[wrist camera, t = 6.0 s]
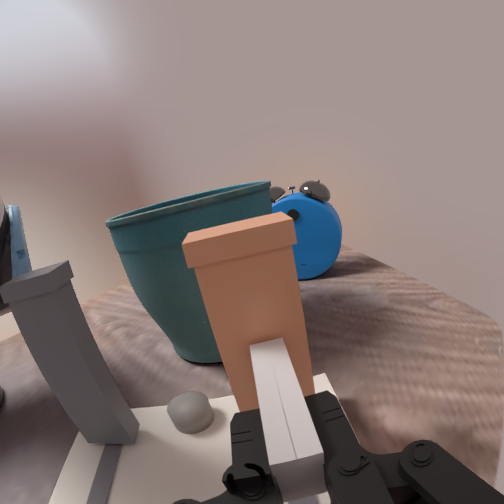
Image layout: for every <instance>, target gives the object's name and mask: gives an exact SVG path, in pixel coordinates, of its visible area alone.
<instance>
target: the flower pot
mask: <svg viewBox="0 0 504 504" xmlns="http://www.w3.org/2000/svg"><path fill="white" fill-rule="evenodd" d="M270 186H271V182H270V180H264V181H256V182H250V183H244V184H238V185H233V186H228V187H223V188H218V189H214V190H209V191H205V192H201V193H196V194H192V195H188V196H184V197H180V198H176V199H172V200H168V201H165V202H161V203H157V204H154V205H151V206H147V207H144V208H140V209H137V210H134V211H130V212H127V213H124V214H122V215H119V216H116V217H113V218H111V219H108V220H107V221H105V223H106V226H107V227H108V228H109V229H110V233H111V236H112V238H113V241H114V244H115V247H116V249H117V251H118V253H119V255H120V258H121V261H122V263H123V266H124V268H125V271H126V273H127V276H128V278H129V281H130V283H131V285H132V287H133V289H134V291H135V293H136V295H137V297H138V298H139V300H140V302H141V303H142V305H143V306H144V308H145V309H146V310H147V312H148V313H149V314H150V315H151V317H152V318H153V319H154V320H155V321H156V323H157V324H158V325H159V326H160V328H161V329H162V330H163V331H164V333H165V334H166V335H167V336H168V338H169V339H170V340H171V342H172V344H173V346H174V349H175V351H176V353H177V354H178V355H180V356H181V357H182V358H184V359H186V360H189V361H192V362H198V363H214V362H221V361H222V359H221V356H220V353H219V350H218V346H217V343H216V340H215V337H214V334H213V331H212V327H211V324H210V321H209V318H208V314H207V311H206V308H205V304H204V301H203V298H202V294H201V291H200V287H199V284H198V280H197V277H196V273H195V270H194V267H193V268H189V269H188V266H187V263H186V259H185V255H184V252H183V248H182V243H183V241H184V239H185V238H186V236H187V234H188V233H190V232H194V231H198V230H202V229H207V228H211V227H215V226H219V225H224V224H228V223H232V222H237V221H241V220H245V219H250V218H254V217H259V216H263V215H268V214H272V203H271V195H270Z"/></svg>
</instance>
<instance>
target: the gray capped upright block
mask: <svg viewBox="0 0 504 504" xmlns="http://www.w3.org/2000/svg"><path fill="white" fill-rule="evenodd" d="M73 277H74V276H73V273H72V270H71V267H70V264H69V261H64V262H61V263H57V264H54V265H51V266H47V267H44V268H41V269H37V270H34V271H31V272H27V273H24V274H21V275H18V276H17V277H15V278H13V279H12V280H10V281H8V282H7V283H5V284H3V285H2V286H0V294H1V297H2V299H3V302H4V304H5V303H9V306H10V308H11V311H12V313H13V315H14V318H15V320H16V322H17V325H18V327H19V329H20V331H21V333H22V336H23V338H24V340H25V342H26V344H27V346H28V348H29V350H30V352H31V354H32V356H33V358H34V360H35V362H36V363H37V365H38V367H39V369H40V371H41V372H42V374H43V376H44V378H45V379H46V381H47V383H48V385H49V386H50V388H51V390H52V391H53V393H54V394H55V396H56V398H57V399H58V401H59V402H60V404H61V405H62V407H63V408H64V410H65V411H66V413H67V414H68V416H69V417H70V419H71V420H72V422H73V423H74V424H75V426H76V427H77V429H78V430H79V431H80V433H81V434H82V435H83V437H84V438H85V439H86V441H87V442H88V443H96V444H135V441H136V437H137V433H138V430H139V426H140V424H139V422H138V420H137V419H136V417H135V416H134V414H133V412H132V411H131V409H130V407H129V406H128V404H127V402H126V400H125V399H124V397H123V395H122V393H121V391H120V390H119V388H118V386H117V384H116V382H115V380H114V379H113V377H112V375H111V373H110V371H109V369H108V367H107V365H106V363H105V361H104V359H103V357H102V355H101V353H100V351H99V349H98V346H97V344H96V342H95V340H94V338H93V335H92V333H91V331H90V329H89V326H88V324H87V322H86V319H85V317H84V314H83V312H82V310H81V307H80V304H79V302H78V300H77V297H76V294H75V291H74V289H73V286H72V283H71V280H70V279H71V278H73Z"/></svg>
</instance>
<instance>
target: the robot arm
mask: <svg viewBox="0 0 504 504" xmlns="http://www.w3.org/2000/svg"><path fill="white" fill-rule="evenodd" d="M31 271H32V268H31V263H30V259H29V254H28V249H27V244H26V240H25V234H24V229H23V223H22V218H21V213H20V210H19V207H18V206H16V205H13V206H11V205H9V206H7V207H6V208H5V206H4V204H3V201H2V199H1V196H0V286H2V285H3V284H5V283H7V282H8V281H10V280H12V279H13V278H15V277H17V276H18V275H21V274H24V273H27V272H31ZM9 312H11V308H10V306H9V303H5V304H4V302H3V299H2V297H1V294H0V316H1V315H4V314H6V313H9ZM249 346H250V353H251V359H252V365H253V371H254V377H255V383H256V390H257V396H258V402H259V408H258V409H253V410H248V411H243V412H238V413H235V414H234V416H233V418H232V420H231V422H230V434H231V453H232V465H231V466H230V467H228V468H227V470H226V471H225V472H224V474H223V477H222V482H223V484H224V485H225V487H226V489H227V490H226V491H225V492H223V493H222V494H220V495H218V496H216V497H214V498H211V499H208V500H206V501H203V502H199V501H197V500H194V499H181V500H178V501H175V502H174V503H173V504H284V502H289V501H293V500H298V499H302V498H306V497H310V496H314V495H318V494H321V493H325V492H327V491H328V494H329V497H330V504H504V495H502V494H501V493H500V492H498V491H497V490H496V489H494V488H493V487H492V486H490V485H489V484H488V483H486V482H485V481H484V480H482V479H481V478H480V477H478V476H477V475H476V474H475V473H473V472H472V471H471V470H469V469H468V468H467V467H466V466H464V465H463V464H462V463H460V462H459V461H458V460H457V459H455V458H454V457H453V456H452V455H450V454H449V453H448V452H447V451H445V450H444V449H443V448H442V447H440V446H439V445H438V444H436V443H434V442H432V441H429V440H419V441H415V442H413V443H411V444H409V445H407V446H406V447H405V448H404V450H403V451H402V452H400V453H393V454H385V455H378V454H372V453H370V452H368V451H366V450H365V449H363V448H362V446H361V445H360V443H359V441H358V439H357V437H356V435H355V433H354V431H353V429H352V427H351V425H350V423H349V421H348V419H347V417H346V415H345V413H344V411H343V409H342V407H341V405H340V403H339V401H338V399H337V397H336V396H335V395H333V394H332V393H330V392H329V391H328V390H326V391H323V392H319V393H316V394H312V395H309V396H305V397H304V396H303V394H302V391H301V388H300V385H299V382H298V380H297V377H296V374H295V371H294V369H293V366H292V363H291V360H290V357H289V355H288V352H287V349H286V346H285V344H284V341H283V338H278V339H274V340H270V341H266V342H261V343H257V344H253V345H249ZM2 401H3V390H2V388H1V386H0V406H1V404H2Z"/></svg>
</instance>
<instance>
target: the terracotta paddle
mask: <svg viewBox="0 0 504 504" xmlns="http://www.w3.org/2000/svg"><path fill="white" fill-rule="evenodd" d="M293 244H297V238H296V232H295V227H294V222H293V218H291V217H289V216H288V215H286V214H285V213H283V212H277V213H272V214H268V215H263V216H259V217H254V218H250V219H245V220H241V221H237V222H232V223H228V224H224V225H219V226H215V227H211V228H207V229H202V230H198V231H194V232H190V233H188V234H187V236H186V238H185V239H184V241H183V243H182V248H183V252H184V255H185V259H186V263H187V266H188V269H189V268H193V267H194V270H195V273H196V277H197V280H198V284H199V287H200V291H201V294H202V298H203V301H204V304H205V308H206V311H207V314H208V318H209V321H210V324H211V327H212V331H213V334H214V337H215V340H216V343H217V346H218V350H219V353H220V356H221V359H222V362H223V365H224V368H225V371H226V374H227V377H228V380H229V383H230V386H231V388H232V391H233V394H234V397H235V400H236V403H237V405H238V408H239V411H240V412H243V411H248V410H253V409H258V408H259V402H258V396H257V390H256V383H255V377H254V371H253V365H252V359H251V353H250V346H249V345H253V344H257V343H261V342H266V341H270V340H274V339H278V338H283V341H284V344H285V346H286V349H287V352H288V355H289V357H290V360H291V363H292V366H293V369H294V371H295V374H296V377H297V380H298V382H299V385H300V388H301V391H302V394H303V396H304V397H305V396H309V395H312V394H315V388H314V381H313V374H312V366H311V359H310V352H309V346H308V339H307V332H306V326H305V319H304V313H303V307H302V301H301V295H300V289H299V283H298V277H297V271H296V266H295V260H294V254H293V249H292V245H293Z"/></svg>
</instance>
